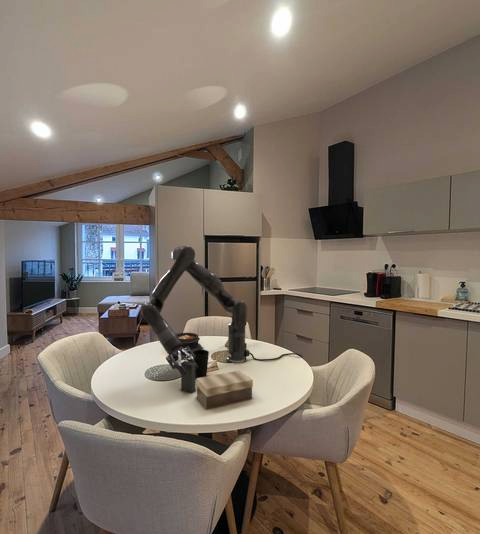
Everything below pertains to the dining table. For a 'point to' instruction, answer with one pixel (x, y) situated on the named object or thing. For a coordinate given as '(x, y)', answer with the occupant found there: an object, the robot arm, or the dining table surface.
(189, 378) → the dark grey rectangular block
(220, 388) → the lidded shoe box
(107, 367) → the dining table surface
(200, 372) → the cup
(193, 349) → the casserole
